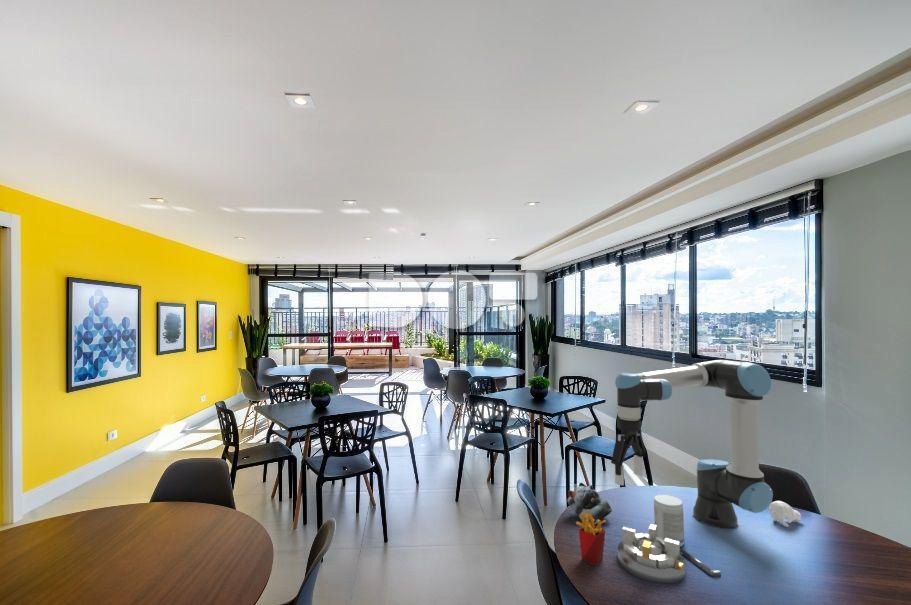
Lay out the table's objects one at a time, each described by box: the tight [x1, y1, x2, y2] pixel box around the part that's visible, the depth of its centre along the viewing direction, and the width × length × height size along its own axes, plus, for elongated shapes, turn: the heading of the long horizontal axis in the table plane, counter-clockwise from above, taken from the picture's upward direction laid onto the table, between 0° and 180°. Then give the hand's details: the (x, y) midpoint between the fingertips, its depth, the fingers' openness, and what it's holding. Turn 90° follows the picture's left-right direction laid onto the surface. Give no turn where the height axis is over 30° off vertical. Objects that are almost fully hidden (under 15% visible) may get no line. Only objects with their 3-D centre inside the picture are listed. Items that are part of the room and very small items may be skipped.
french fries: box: [575, 510, 607, 567], centre depth 136 cm, size 9×8×15 cm
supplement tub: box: [653, 494, 685, 547], centre depth 148 cm, size 10×10×15 cm
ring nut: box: [621, 523, 681, 569], centre depth 134 cm, size 16×16×6 cm
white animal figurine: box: [768, 500, 802, 528], centre depth 161 cm, size 6×8×12 cm
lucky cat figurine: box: [567, 482, 613, 526], centre depth 165 cm, size 15×12×14 cm
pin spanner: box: [680, 549, 722, 578], centre depth 133 cm, size 13×3×2 cm, turn 11°
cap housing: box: [617, 539, 686, 584], centre depth 134 cm, size 20×20×6 cm
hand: (629, 479), depth 142 cm, fingers open, 13 cm apart
